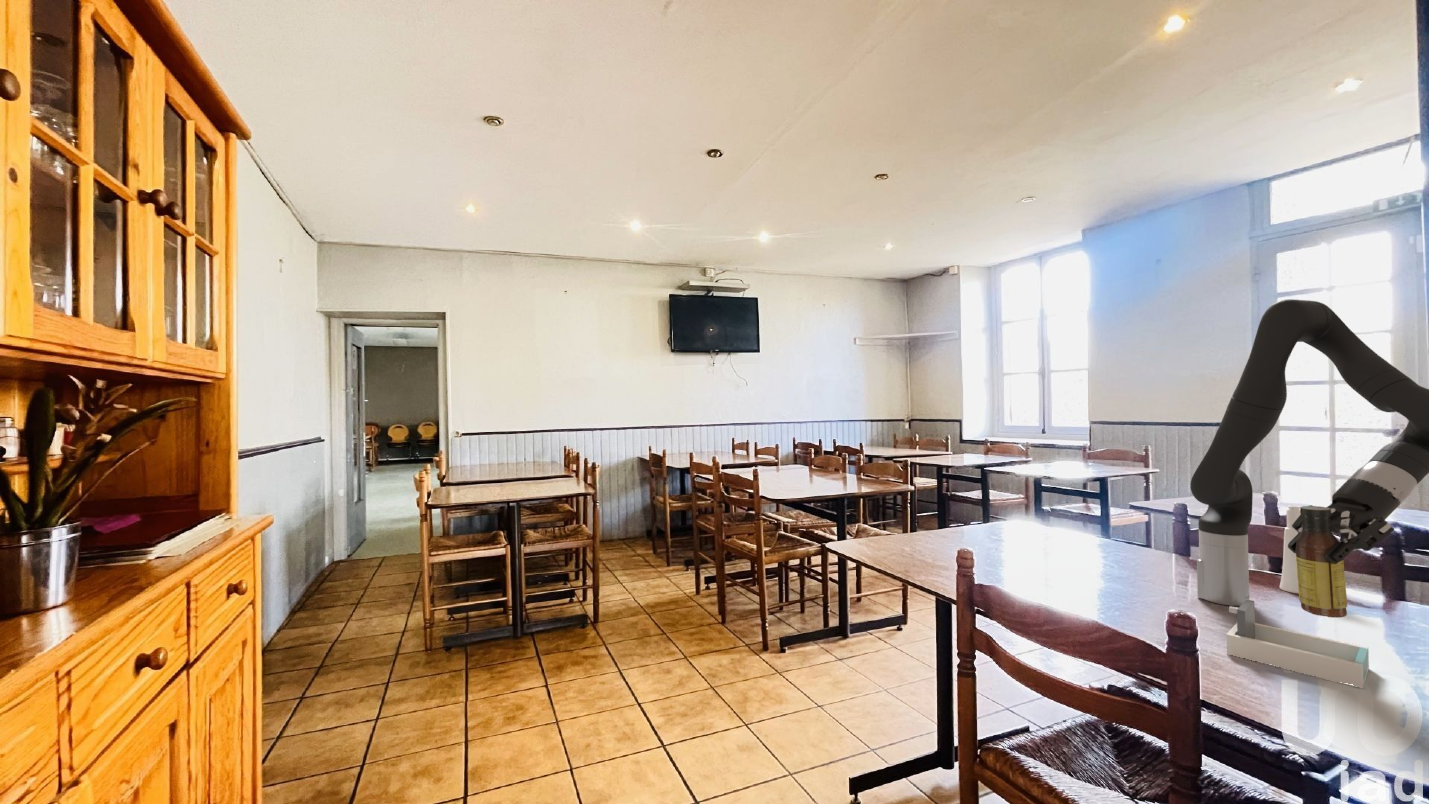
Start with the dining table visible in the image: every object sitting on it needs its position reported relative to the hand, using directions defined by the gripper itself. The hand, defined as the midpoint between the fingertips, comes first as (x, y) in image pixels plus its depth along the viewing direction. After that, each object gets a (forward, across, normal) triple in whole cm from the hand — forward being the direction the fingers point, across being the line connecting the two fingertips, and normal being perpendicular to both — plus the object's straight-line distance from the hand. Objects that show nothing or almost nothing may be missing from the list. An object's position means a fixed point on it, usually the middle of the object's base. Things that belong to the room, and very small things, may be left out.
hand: (1310, 555), depth 108 cm
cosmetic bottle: (-10, -42, +41) cm, 60 cm away
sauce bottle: (+7, 0, +9) cm, 11 cm away
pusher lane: (+16, -3, +14) cm, 21 cm away
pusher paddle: (+18, -9, +10) cm, 22 cm away
